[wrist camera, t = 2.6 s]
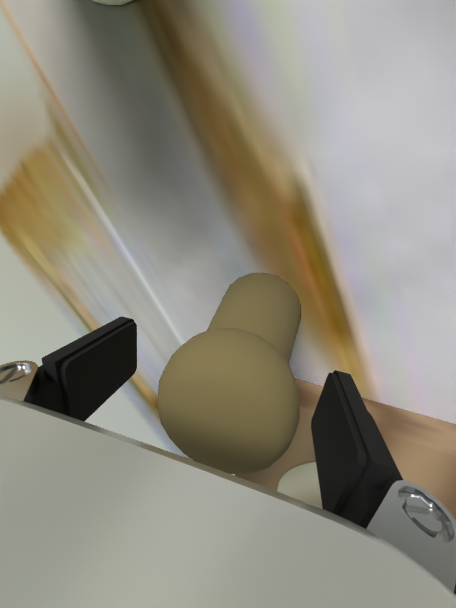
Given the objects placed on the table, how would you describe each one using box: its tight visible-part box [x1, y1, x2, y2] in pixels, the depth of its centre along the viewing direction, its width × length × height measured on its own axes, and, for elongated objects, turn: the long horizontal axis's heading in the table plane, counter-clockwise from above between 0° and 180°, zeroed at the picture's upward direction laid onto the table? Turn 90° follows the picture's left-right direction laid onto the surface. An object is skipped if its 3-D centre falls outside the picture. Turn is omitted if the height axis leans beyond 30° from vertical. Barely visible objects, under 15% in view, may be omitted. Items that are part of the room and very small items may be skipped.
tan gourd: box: [157, 273, 301, 474], centre depth 12 cm, size 6×6×11 cm
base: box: [235, 379, 456, 520], centre depth 18 cm, size 16×16×3 cm
